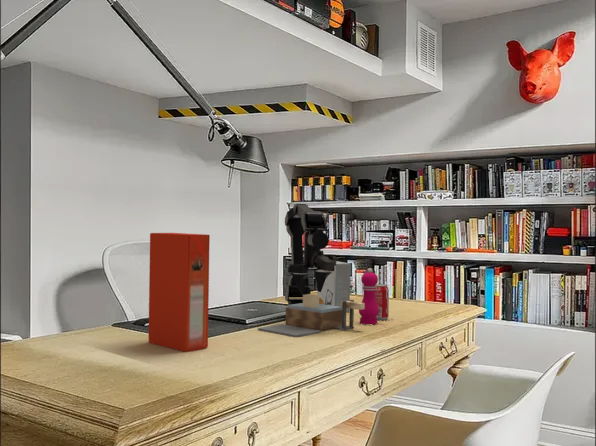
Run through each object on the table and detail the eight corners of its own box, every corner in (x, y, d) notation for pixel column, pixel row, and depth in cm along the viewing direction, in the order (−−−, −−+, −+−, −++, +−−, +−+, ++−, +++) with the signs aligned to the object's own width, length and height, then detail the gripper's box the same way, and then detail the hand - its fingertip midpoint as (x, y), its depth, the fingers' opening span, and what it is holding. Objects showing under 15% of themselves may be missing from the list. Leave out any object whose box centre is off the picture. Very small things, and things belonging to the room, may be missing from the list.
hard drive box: (316, 307, 261) (317, 260, 261) (332, 307, 264) (333, 260, 264) (333, 313, 247) (334, 263, 247) (350, 312, 250) (351, 263, 250)
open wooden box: (285, 325, 216) (286, 296, 216) (309, 321, 226) (310, 294, 226) (330, 333, 203) (331, 303, 203) (354, 328, 212) (354, 299, 212)
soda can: (389, 320, 231) (390, 286, 231) (370, 320, 231) (371, 285, 231) (387, 317, 238) (388, 284, 238) (368, 317, 238) (369, 283, 238)
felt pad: (257, 329, 205) (257, 328, 205) (282, 325, 214) (282, 324, 214) (296, 337, 194) (296, 335, 194) (320, 332, 203) (320, 330, 203)
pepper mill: (372, 325, 219) (373, 269, 219) (354, 323, 223) (356, 267, 223) (382, 323, 225) (383, 268, 225) (365, 320, 229) (366, 266, 229)
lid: (287, 310, 216) (287, 293, 216) (308, 307, 224) (308, 291, 224) (321, 315, 206) (321, 298, 206) (341, 312, 214) (342, 295, 214)
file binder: (184, 352, 168) (187, 234, 168) (147, 342, 180) (150, 232, 180) (207, 348, 174) (210, 234, 174) (170, 339, 186) (172, 232, 186)
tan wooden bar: (341, 307, 211) (341, 301, 211) (345, 306, 213) (345, 300, 213) (360, 309, 206) (360, 303, 206) (364, 309, 207) (364, 303, 207)
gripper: (312, 249, 201) (311, 297, 201) (347, 248, 215) (346, 293, 215) (287, 247, 209) (286, 294, 209) (322, 246, 223) (321, 290, 223)
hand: (311, 292), depth 214 cm, fingers open, 9 cm apart
